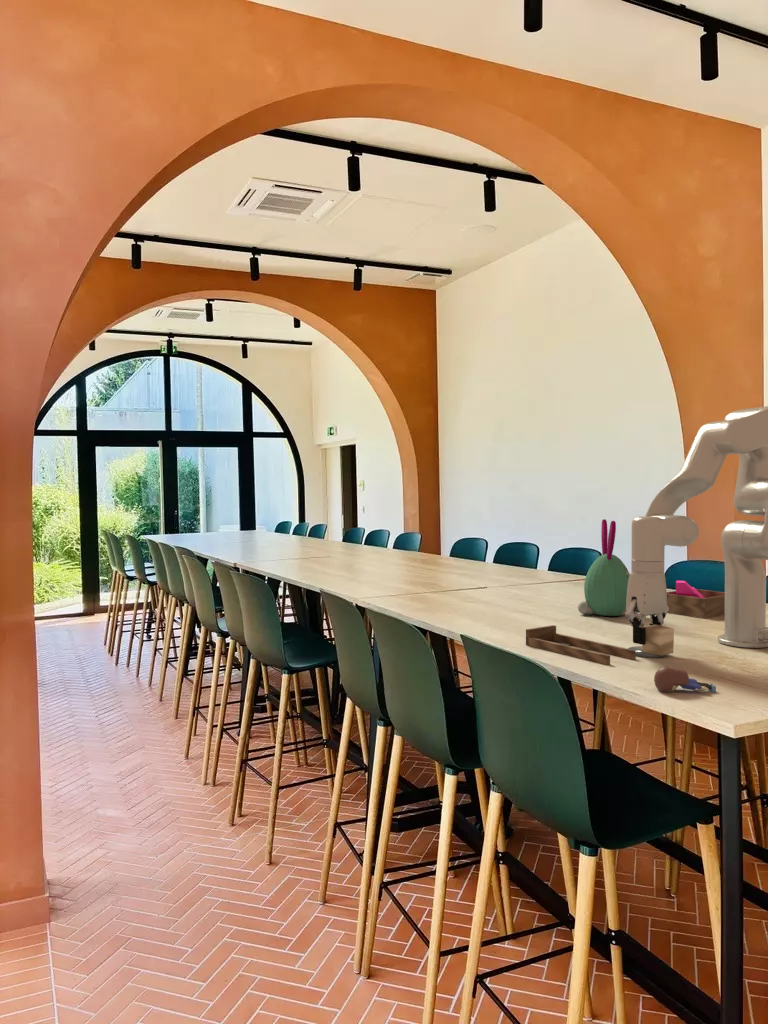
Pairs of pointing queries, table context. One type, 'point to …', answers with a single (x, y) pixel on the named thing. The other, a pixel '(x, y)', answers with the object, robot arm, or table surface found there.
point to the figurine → (678, 680)
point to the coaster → (644, 653)
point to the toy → (606, 580)
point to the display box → (697, 604)
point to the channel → (563, 643)
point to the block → (658, 640)
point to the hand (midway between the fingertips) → (647, 641)
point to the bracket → (687, 590)
